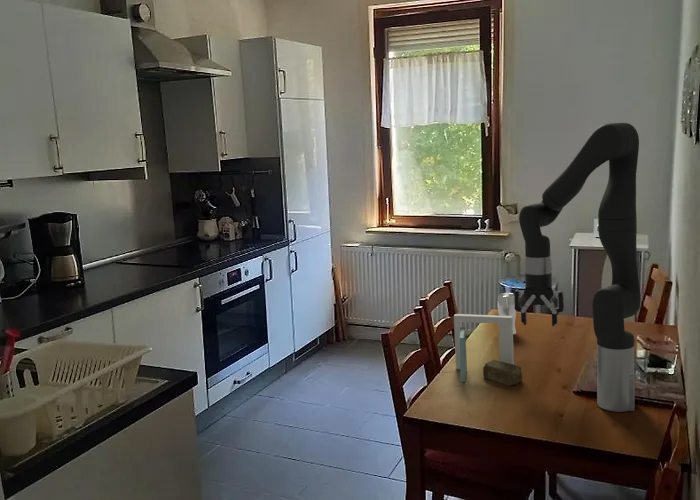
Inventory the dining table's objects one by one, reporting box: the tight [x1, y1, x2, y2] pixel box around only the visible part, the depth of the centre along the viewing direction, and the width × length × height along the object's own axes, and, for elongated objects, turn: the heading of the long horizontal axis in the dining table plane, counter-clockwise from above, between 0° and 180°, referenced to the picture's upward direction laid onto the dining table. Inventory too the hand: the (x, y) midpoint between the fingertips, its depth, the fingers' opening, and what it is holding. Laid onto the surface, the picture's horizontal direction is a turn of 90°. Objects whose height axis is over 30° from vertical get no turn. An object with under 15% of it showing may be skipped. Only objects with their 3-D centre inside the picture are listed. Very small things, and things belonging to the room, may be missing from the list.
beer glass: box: [497, 292, 517, 336], centre depth 243 cm, size 7×7×15 cm
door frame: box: [453, 313, 515, 370], centre depth 206 cm, size 18×2×18 cm, turn 68°
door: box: [460, 326, 468, 383], centre depth 202 cm, size 12×1×14 cm, turn 168°
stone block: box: [482, 359, 523, 387], centre depth 198 cm, size 6×12×5 cm, turn 40°
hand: (539, 324), depth 191 cm, fingers open, 7 cm apart
